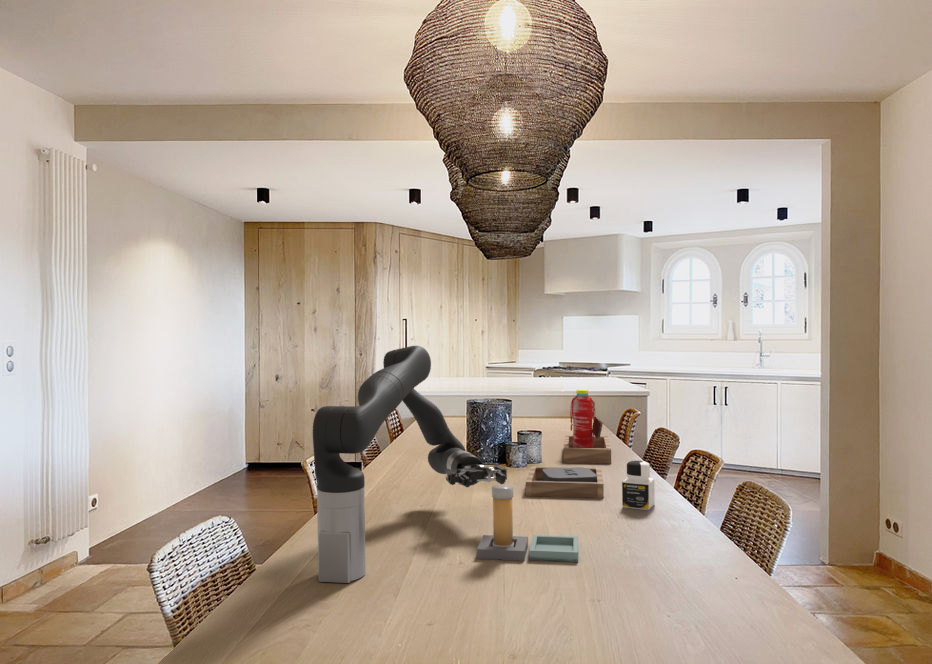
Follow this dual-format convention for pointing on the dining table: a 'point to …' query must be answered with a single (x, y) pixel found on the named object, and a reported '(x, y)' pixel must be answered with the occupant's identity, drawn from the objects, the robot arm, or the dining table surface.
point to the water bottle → (584, 420)
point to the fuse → (502, 516)
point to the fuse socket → (502, 549)
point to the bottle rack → (588, 451)
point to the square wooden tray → (563, 485)
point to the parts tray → (554, 548)
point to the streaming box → (569, 474)
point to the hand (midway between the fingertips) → (485, 481)
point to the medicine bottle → (638, 486)
